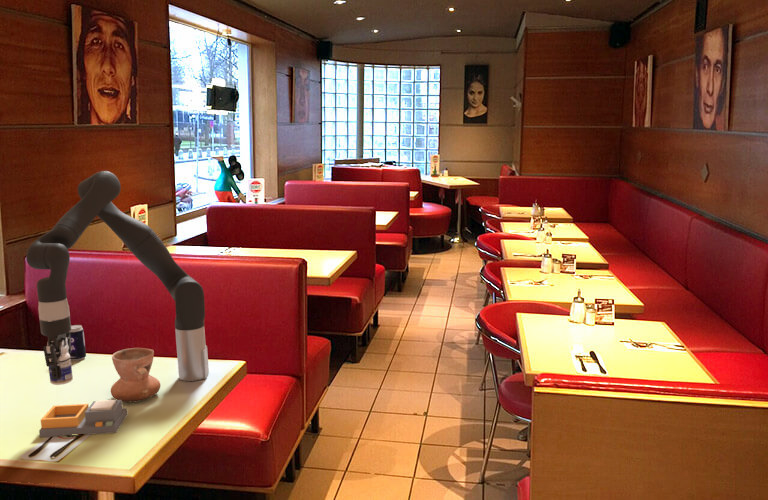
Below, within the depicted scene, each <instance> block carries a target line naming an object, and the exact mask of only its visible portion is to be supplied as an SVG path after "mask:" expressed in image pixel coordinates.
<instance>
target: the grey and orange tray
mask: <svg viewBox="0 0 768 500" xmlns="http://www.w3.org/2000/svg"><path fill="white" fill-rule="evenodd" d="M115 400H116V399H115ZM96 401H97V400H95V401H92V402H91V404H90V405H89V403H80V404H61V405H60V404H59V405H58V404H57V405H52V406H51V408H50V409H49V410H48V411H47V412H46V413H45V414H44V415H43V417H41V419H40V426H41V427H40V429H39V430H38V433H39V438H51V437H65V436H64V435H70V436H73V435H72V434H84V435H100V434H116V433H117V431H118V430H119V429H120V427H121V426H122V424H123V423H124V421H125V420H126V418H127V417H128V409H127V407H126V408H124V407H123V402H122V400H116V405H115V406H114V408H113V409H112V410H99V411H91V409H90V408H91V407H92V406H93V405H94V403H95V402H96Z"/></svg>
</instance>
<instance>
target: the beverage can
mask: <svg viewBox="0 0 768 500" xmlns="http://www.w3.org/2000/svg"><path fill="white" fill-rule="evenodd" d="M70 336H71V353H69V354H70V358H71V362H72V361H73V362H77V361H78V362H79V361H82V360H84V359H85V357H86V356H87V352H86V351H87V350H86V342H85V341H86V340H85V333H84V328H83V325H81V324H74V325H72V324H71V331H70Z"/></svg>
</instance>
